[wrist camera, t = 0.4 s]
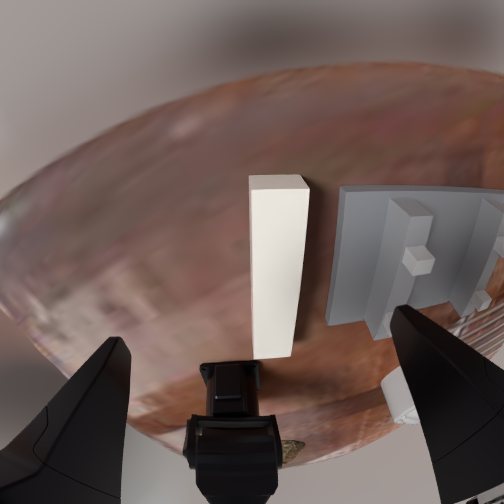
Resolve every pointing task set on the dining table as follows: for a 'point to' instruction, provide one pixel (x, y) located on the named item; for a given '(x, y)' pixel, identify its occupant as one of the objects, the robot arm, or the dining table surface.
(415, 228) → the grey pegged plate
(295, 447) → the mottled brown rock
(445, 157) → the dining table surface
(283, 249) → the clay strip
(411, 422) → the white lego brick
